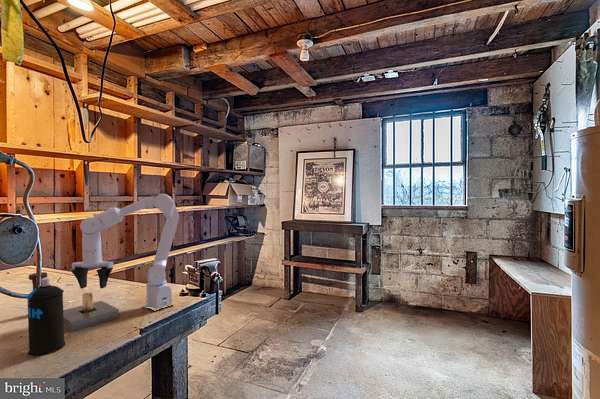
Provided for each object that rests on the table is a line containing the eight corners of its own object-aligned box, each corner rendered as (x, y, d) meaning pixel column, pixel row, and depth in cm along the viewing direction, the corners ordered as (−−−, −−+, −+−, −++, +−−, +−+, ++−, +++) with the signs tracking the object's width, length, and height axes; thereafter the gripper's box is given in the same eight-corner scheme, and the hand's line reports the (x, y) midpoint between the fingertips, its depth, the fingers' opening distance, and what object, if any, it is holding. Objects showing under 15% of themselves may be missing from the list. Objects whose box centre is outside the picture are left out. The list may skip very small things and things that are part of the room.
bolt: (36, 317, 112) (35, 276, 112) (25, 316, 113) (24, 275, 113) (52, 311, 118) (51, 272, 118) (41, 310, 119) (40, 271, 119)
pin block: (118, 317, 110) (118, 309, 110) (71, 331, 99) (71, 322, 99) (101, 308, 120) (101, 300, 119) (56, 320, 108) (56, 311, 108)
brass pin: (95, 317, 111) (94, 292, 111) (90, 320, 108) (89, 294, 108) (86, 317, 110) (85, 292, 110) (81, 320, 107) (80, 295, 107)
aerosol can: (61, 339, 93) (59, 273, 93) (69, 347, 88) (67, 277, 88) (25, 350, 87) (22, 279, 87) (31, 359, 82) (29, 284, 81)
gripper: (118, 248, 115) (119, 284, 115) (81, 248, 116) (83, 284, 116) (104, 251, 108) (106, 290, 108) (66, 252, 109) (67, 290, 109)
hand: (93, 287), depth 112 cm, fingers open, 7 cm apart
